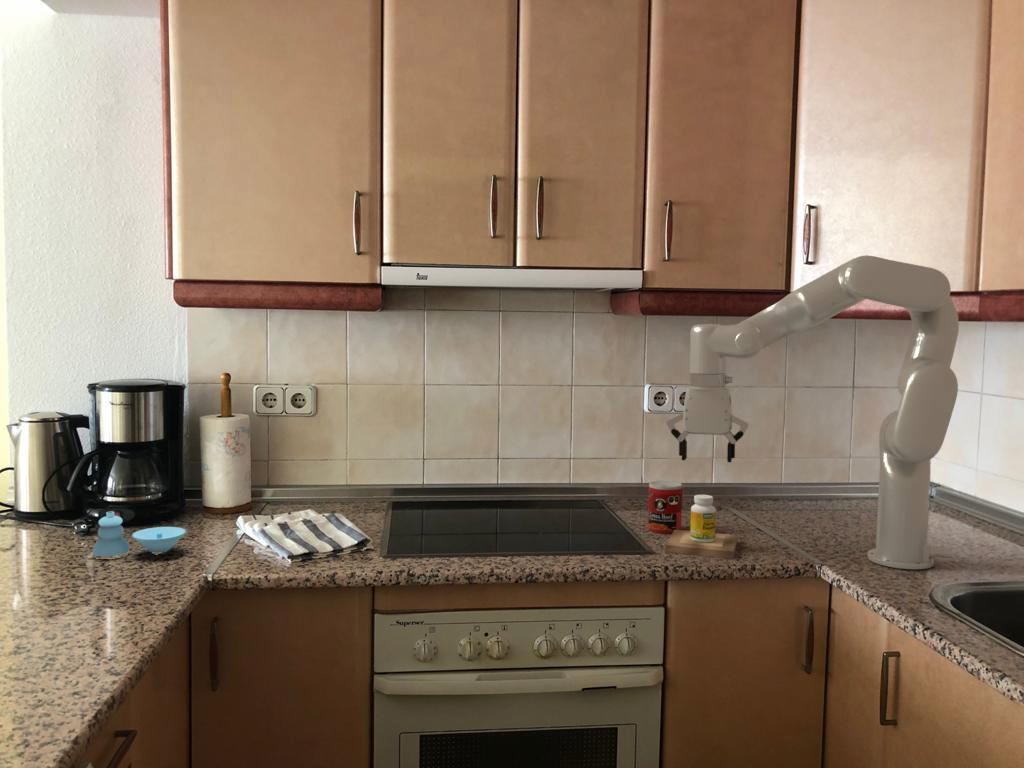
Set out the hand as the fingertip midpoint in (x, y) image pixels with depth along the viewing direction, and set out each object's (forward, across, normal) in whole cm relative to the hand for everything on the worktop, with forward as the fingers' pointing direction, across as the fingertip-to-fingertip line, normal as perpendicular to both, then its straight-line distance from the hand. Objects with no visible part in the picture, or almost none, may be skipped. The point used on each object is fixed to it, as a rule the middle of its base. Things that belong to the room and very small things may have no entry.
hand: (706, 460), depth 188 cm
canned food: (+19, +11, -12) cm, 25 cm away
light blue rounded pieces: (+17, +110, +47) cm, 121 cm away
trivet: (+19, +1, 0) cm, 19 cm away
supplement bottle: (+18, +1, 0) cm, 18 cm away
